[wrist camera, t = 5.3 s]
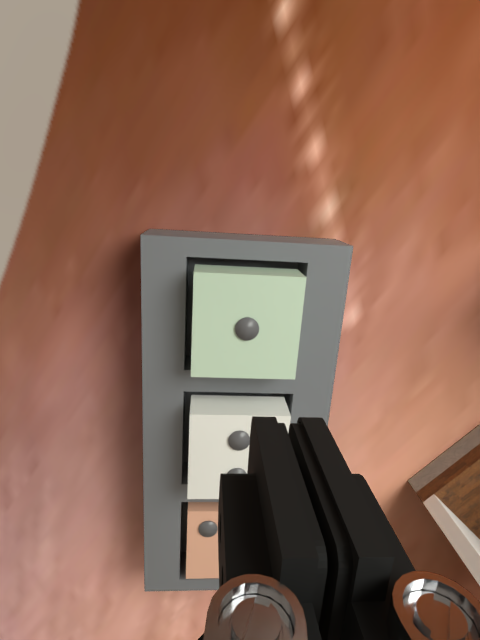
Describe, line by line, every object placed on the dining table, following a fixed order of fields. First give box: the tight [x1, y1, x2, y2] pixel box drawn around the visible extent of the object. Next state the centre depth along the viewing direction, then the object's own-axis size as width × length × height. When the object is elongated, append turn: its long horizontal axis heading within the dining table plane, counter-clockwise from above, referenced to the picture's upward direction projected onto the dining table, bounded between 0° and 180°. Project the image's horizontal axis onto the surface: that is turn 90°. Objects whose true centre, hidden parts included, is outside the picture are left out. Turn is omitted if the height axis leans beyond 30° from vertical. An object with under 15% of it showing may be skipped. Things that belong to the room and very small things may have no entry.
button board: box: [141, 229, 353, 591], centre depth 24 cm, size 22×10×3 cm, turn 176°
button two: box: [187, 395, 291, 499], centre depth 22 cm, size 5×5×2 cm
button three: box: [186, 502, 219, 579], centre depth 25 cm, size 5×5×2 cm
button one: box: [191, 264, 307, 380], centre depth 20 cm, size 5×5×2 cm
